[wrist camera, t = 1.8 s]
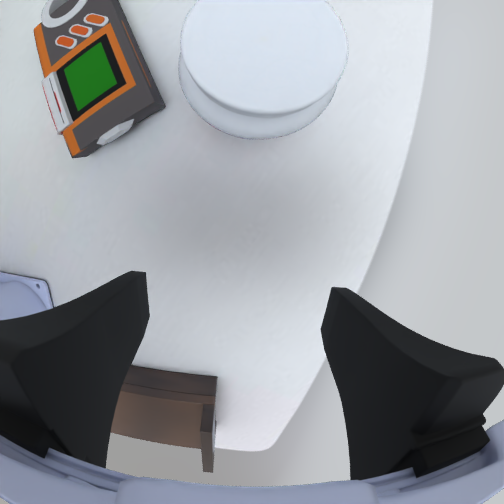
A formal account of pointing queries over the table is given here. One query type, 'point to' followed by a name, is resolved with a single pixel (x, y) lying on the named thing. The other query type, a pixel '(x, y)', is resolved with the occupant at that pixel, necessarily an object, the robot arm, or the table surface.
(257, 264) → the table surface
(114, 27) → the electronic device
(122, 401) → the shelf
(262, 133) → the pill bottle
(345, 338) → the robot arm
